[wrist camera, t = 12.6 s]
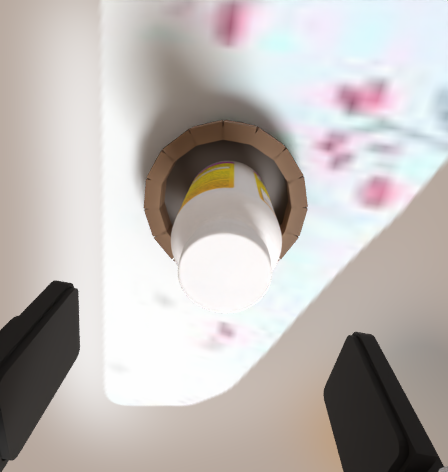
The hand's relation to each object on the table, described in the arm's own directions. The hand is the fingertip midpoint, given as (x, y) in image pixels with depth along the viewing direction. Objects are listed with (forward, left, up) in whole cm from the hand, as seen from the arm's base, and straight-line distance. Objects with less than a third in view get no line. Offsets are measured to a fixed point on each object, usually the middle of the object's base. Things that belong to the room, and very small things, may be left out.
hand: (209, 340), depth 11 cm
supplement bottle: (0, 0, -18) cm, 18 cm away
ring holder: (+1, 0, -18) cm, 18 cm away
